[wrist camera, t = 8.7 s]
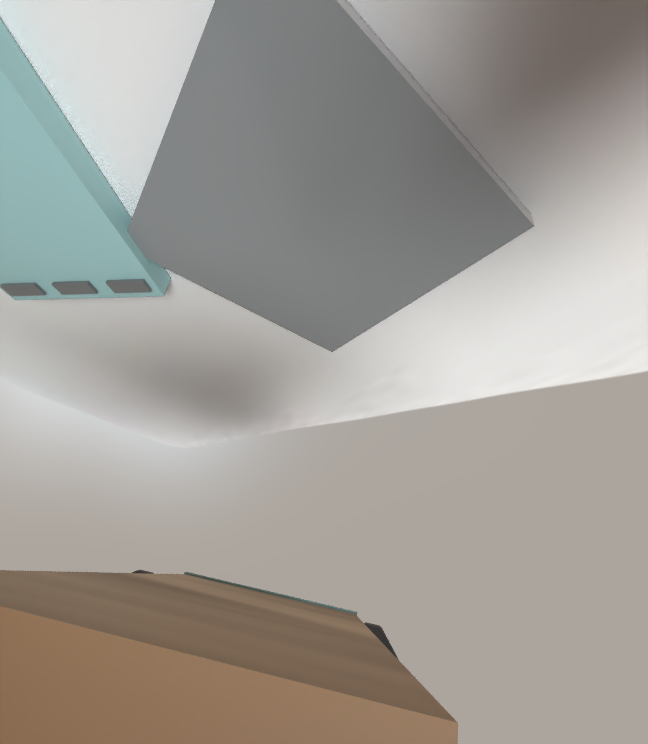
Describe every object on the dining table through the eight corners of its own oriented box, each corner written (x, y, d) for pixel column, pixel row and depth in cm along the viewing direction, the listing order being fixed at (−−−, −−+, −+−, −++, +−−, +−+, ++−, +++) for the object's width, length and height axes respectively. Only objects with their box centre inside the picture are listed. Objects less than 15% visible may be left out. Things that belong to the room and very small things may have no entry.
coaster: (127, 235, 14) (121, 245, 13) (257, -103, 7) (251, -97, 6) (332, 342, 19) (332, 351, 18) (530, 213, 12) (534, 225, 11)
